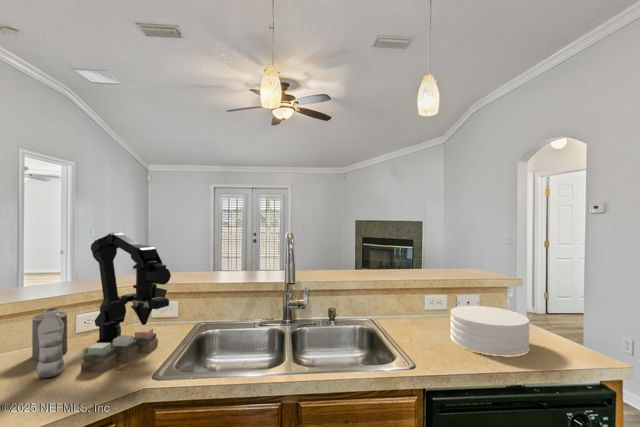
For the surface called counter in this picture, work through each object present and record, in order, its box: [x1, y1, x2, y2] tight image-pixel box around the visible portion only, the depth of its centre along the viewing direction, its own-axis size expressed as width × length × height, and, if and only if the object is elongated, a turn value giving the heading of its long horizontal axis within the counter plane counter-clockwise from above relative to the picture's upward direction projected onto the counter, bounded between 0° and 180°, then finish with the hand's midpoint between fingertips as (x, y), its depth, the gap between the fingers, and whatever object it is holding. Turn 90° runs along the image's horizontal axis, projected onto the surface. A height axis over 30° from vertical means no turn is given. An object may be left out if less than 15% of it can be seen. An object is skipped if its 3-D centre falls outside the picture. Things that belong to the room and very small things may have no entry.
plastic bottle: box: [36, 307, 65, 379], centre depth 106 cm, size 6×7×20 cm
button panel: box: [80, 332, 159, 373], centre depth 120 cm, size 14×22×5 cm, turn 1°
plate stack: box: [449, 305, 530, 355], centre depth 139 cm, size 28×28×12 cm
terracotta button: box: [134, 327, 154, 338], centre depth 128 cm, size 4×4×2 cm
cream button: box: [112, 334, 134, 346], centre depth 120 cm, size 4×4×2 cm
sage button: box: [87, 342, 112, 355], centre depth 112 cm, size 4×4×2 cm
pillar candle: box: [31, 311, 68, 361], centre depth 122 cm, size 10×10×15 cm
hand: (144, 324), depth 128 cm, fingers closed
